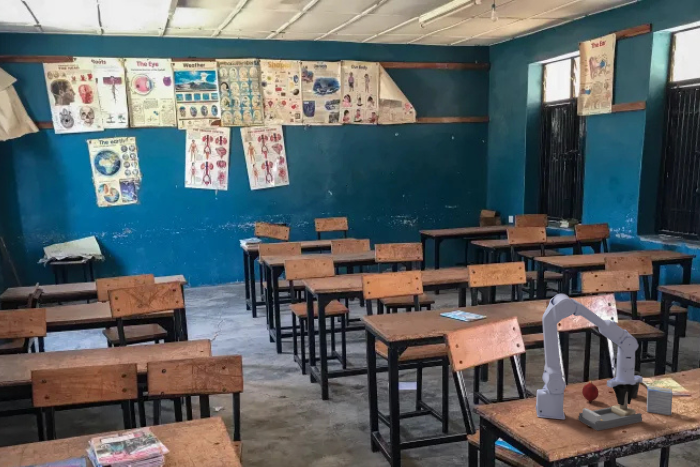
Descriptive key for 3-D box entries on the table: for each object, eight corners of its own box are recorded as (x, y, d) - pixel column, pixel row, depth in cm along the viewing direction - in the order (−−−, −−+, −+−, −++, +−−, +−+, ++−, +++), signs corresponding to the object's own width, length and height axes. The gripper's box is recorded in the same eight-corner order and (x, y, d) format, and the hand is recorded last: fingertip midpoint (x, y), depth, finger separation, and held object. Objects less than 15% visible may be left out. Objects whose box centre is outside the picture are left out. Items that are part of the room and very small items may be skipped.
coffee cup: (623, 390, 230) (624, 366, 229) (644, 395, 224) (645, 371, 223) (614, 395, 224) (615, 370, 223) (636, 401, 218) (637, 376, 217)
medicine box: (670, 411, 209) (671, 388, 208) (671, 416, 205) (672, 392, 204) (646, 407, 212) (647, 385, 212) (646, 412, 208) (648, 389, 207)
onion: (600, 404, 215) (601, 384, 215) (585, 404, 216) (586, 384, 215) (594, 398, 221) (595, 378, 220) (579, 398, 221) (580, 378, 221)
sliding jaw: (624, 418, 200) (625, 396, 199) (611, 411, 205) (612, 390, 204) (635, 415, 201) (636, 394, 200) (622, 409, 207) (623, 388, 206)
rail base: (597, 430, 194) (597, 418, 193) (578, 420, 202) (578, 407, 202) (641, 421, 201) (642, 409, 200) (621, 411, 209) (622, 399, 208)
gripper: (618, 373, 195) (616, 411, 197) (650, 367, 200) (648, 405, 201) (602, 366, 202) (601, 403, 203) (634, 361, 207) (632, 397, 208)
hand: (623, 403), depth 203 cm, fingers closed on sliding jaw, 2 cm apart
